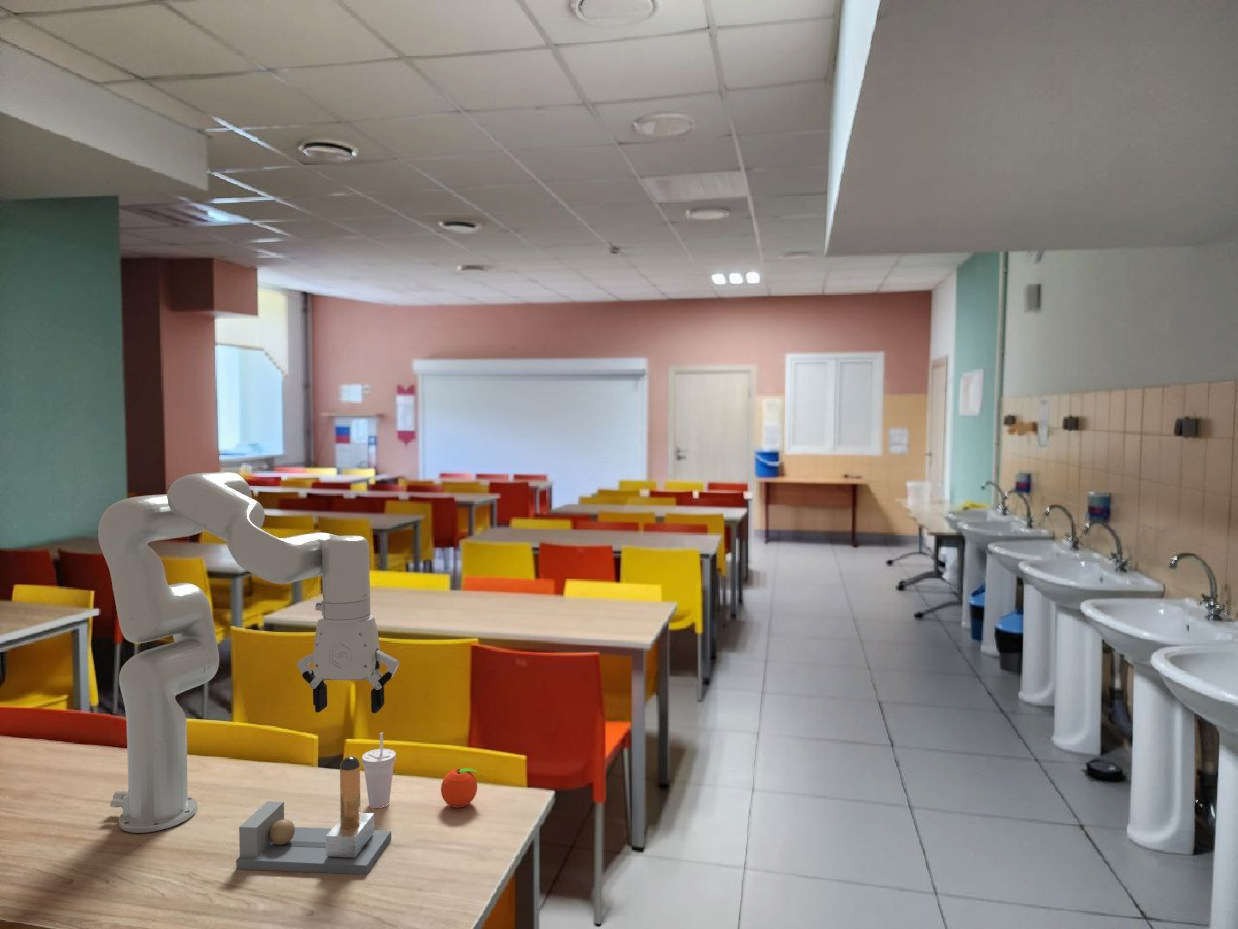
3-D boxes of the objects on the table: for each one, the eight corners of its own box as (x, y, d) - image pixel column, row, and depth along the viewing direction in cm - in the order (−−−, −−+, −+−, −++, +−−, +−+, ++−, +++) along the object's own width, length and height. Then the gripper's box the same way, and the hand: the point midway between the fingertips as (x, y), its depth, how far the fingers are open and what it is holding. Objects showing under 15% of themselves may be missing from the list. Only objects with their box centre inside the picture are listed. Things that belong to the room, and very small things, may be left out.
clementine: (477, 793, 155) (477, 758, 154) (487, 808, 148) (487, 772, 148) (437, 801, 151) (437, 765, 151) (445, 817, 145) (445, 780, 145)
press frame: (236, 868, 127) (235, 830, 127) (270, 834, 138) (270, 798, 138) (366, 874, 126) (366, 835, 126) (391, 839, 137) (390, 803, 137)
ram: (326, 856, 128) (325, 766, 127) (346, 831, 136) (345, 747, 135) (355, 857, 127) (354, 767, 127) (374, 832, 135) (373, 748, 135)
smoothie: (386, 814, 146) (385, 740, 145) (355, 810, 147) (354, 738, 147) (402, 798, 152) (401, 728, 152) (372, 795, 154) (371, 725, 153)
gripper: (286, 614, 127) (288, 717, 128) (389, 615, 126) (391, 719, 127) (307, 604, 135) (309, 702, 135) (404, 605, 133) (406, 703, 134)
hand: (349, 710), depth 131 cm, fingers open, 9 cm apart
